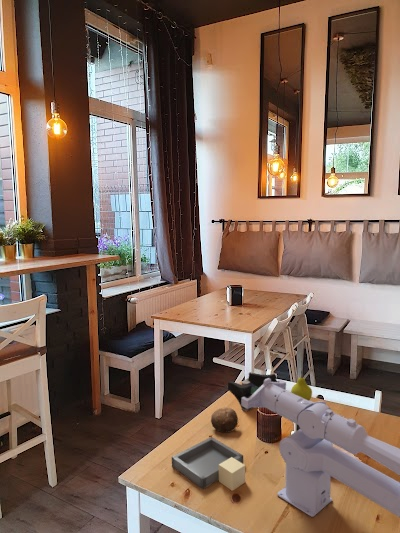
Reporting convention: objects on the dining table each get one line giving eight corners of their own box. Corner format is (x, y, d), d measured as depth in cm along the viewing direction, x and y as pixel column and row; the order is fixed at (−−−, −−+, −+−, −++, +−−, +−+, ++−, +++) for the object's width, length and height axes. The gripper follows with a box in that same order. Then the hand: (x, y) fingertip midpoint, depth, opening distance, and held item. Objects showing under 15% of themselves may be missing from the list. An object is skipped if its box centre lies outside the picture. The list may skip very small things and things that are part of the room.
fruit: (293, 396, 142) (294, 364, 140) (313, 400, 139) (314, 366, 137) (289, 405, 136) (289, 371, 134) (309, 409, 133) (310, 374, 131)
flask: (246, 412, 131) (246, 378, 130) (238, 409, 133) (238, 375, 132) (264, 402, 138) (264, 370, 136) (257, 399, 140) (257, 367, 139)
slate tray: (243, 464, 104) (243, 455, 103) (202, 489, 94) (202, 479, 94) (211, 445, 113) (211, 436, 112) (171, 466, 103) (171, 456, 103)
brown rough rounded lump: (223, 407, 128) (223, 398, 123) (243, 423, 123) (243, 414, 119) (206, 426, 124) (205, 417, 120) (226, 443, 120) (225, 434, 115)
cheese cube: (245, 482, 97) (245, 465, 96) (232, 491, 94) (232, 473, 93) (231, 473, 100) (231, 456, 100) (218, 481, 97) (218, 464, 97)
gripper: (302, 377, 97) (258, 359, 107) (263, 396, 88) (219, 374, 98) (299, 404, 98) (257, 383, 108) (261, 425, 89) (218, 401, 99)
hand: (239, 381), depth 103 cm, fingers open, 7 cm apart
